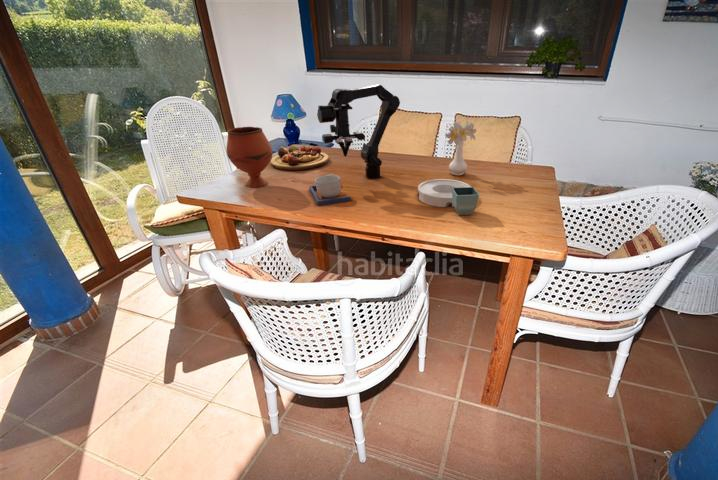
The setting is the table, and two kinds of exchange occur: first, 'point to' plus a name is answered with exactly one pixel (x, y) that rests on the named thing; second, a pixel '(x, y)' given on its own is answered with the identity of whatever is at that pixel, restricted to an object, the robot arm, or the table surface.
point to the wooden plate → (299, 158)
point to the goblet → (249, 152)
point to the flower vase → (459, 145)
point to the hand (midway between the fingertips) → (345, 156)
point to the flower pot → (465, 200)
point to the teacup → (328, 186)
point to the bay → (327, 201)
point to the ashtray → (438, 191)
